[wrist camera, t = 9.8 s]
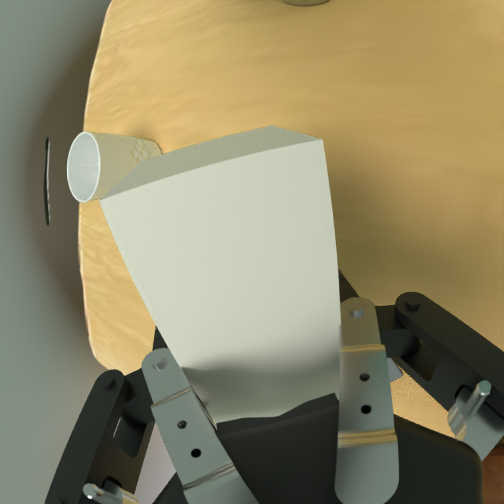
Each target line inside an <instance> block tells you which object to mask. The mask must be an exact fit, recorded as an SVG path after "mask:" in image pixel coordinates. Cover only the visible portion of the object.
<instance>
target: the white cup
mask: <svg viewBox="0 0 504 504" xmlns="http://www.w3.org/2000/svg"><path fill="white" fill-rule="evenodd" d="M159 155H162V153H161V150H160V148H159V147H158V145H157V144H156V143H155V142H154V141H151V140H148V139H142V138H136V137H132V136H124V135H118V134H108V133H96V132H82V133H80V134H79V135H78V136H77V137H76V138H75V140H74V142H73V143H72V146H71V148H70V152H69V156H68V163H67V177H68V183H69V187H70V190H71V192H72V194H73V196H74V197H75V199H77V200H78V201H79V202H82V203H84V202H89V201H94V200H99V199H101V198H102V197H104V196H105V195H106V194H107V193H108V192H109V191H110V190H111V189H112V188H113V187H114V186H115V185H116V184H117V183H118V182H119V181H120V180H121V179H122V178H124V177H125V176H126V175H127V174H128V173H129V172H130V171H131V170H132V169H133V168H135V167H136V166H137V165H138V164H139V163H140V162H141V161H144V160H147V159H150V158H153V157H156V156H159Z"/></svg>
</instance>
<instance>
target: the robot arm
mask: <svg viewBox="0 0 504 504" xmlns="http://www.w3.org/2000/svg"><path fill="white" fill-rule="evenodd" d="M281 1H283V2H286V3H289V4H293V5H314V4H319V3H323V2H326V1H328V0H281ZM338 278H339V295H340V316H341V325H339V400H338V399H337V397H336V394H335V392H334V393H331V394H328V395H325V396H322V397H319V398H316V399H313V400H309V401H306V402H304V403H302V404H301V405H299V406H297V407H295V408H293V409H291V410H289V411H287V412H286V413H284V414H282V415H279V416H276V417H244V418H239V419H235V420H230V421H224V422H219V423H216V424H215V422H214V421H213V419H212V417H211V415H210V414H209V412H208V410H207V408H206V407H205V405H204V404H203V402H202V401H201V400H200V398H199V397H198V395H197V394H196V392H195V391H194V389H193V387H192V386H191V384H190V382H189V381H188V379H187V377H186V375H185V373H184V371H183V370H182V368H181V367H180V366H179V365H178V363H177V361H176V360H175V358H174V356H173V355H172V353H171V351H170V349H169V348H168V346H167V344H166V342H165V341H164V339H163V337H162V335H161V333H160V332H159V330H158V328H157V326H156V329H155V335H154V342H153V350H152V352H150V353H149V354H148V355H146V357H145V358H144V359H143V362H142V368H140V369H139V370H137V371H134V372H132V373H130V374H128V375H126V376H124V375H123V373H122V372H121V371H119V370H115V369H113V370H108V371H106V372H104V373H102V374H101V375H100V376H99V377H98V378H97V380H96V381H95V384H94V386H93V388H92V390H91V392H90V394H89V396H88V398H87V400H86V402H85V405H84V407H83V409H82V411H81V413H80V415H79V418H78V420H77V422H76V424H75V427H74V429H73V431H72V433H71V436H70V438H69V441H68V443H67V445H66V448H65V450H64V453H63V455H62V458H61V460H60V463H59V466H58V467H57V470H56V473H55V476H54V478H53V481H52V483H51V486H50V489H49V492H48V494H47V498H46V500H45V504H139V502H138V500H137V499H136V497H135V496H134V493H135V490H136V486H137V482H138V479H139V475H140V472H141V468H142V465H143V461H144V457H145V454H146V451H147V447H148V444H149V441H150V437H151V434H152V431H153V427H154V424H155V421H156V424H157V426H158V429H159V431H160V434H161V436H162V439H163V441H164V444H165V446H166V449H167V451H168V453H169V456H170V458H171V460H172V463H173V465H174V467H175V469H176V473H175V474H174V475H173V477H172V478H171V480H170V481H169V482H168V484H167V485H166V486H165V488H164V489H163V491H162V492H161V493H160V494H159V496H158V497H157V498H156V500H155V501H154V502H153V504H484V501H483V473H484V471H483V464H482V461H483V459H484V458H485V457H486V456H487V455H488V454H489V452H490V451H491V450H492V449H493V448H494V446H495V445H496V444H497V443H498V441H499V440H500V439H501V438H502V437H503V436H504V352H503V351H502V350H500V349H499V348H498V347H496V346H495V345H494V344H492V343H491V342H490V341H488V340H487V339H486V338H484V337H483V336H482V335H480V334H479V333H477V332H476V331H475V330H473V329H472V328H471V327H469V326H468V325H466V324H465V323H464V322H462V321H461V320H459V319H458V318H456V317H455V316H454V315H452V314H451V313H449V312H448V311H446V310H445V309H443V308H442V307H441V306H439V305H438V304H436V303H435V302H433V301H432V300H430V299H429V298H427V297H426V296H424V295H423V294H420V293H417V292H407V293H403V294H401V295H400V296H399V297H398V298H397V299H396V303H395V305H388V306H374V304H373V303H372V302H371V301H370V300H368V299H365V298H361V297H359V296H358V294H357V293H356V292H355V290H354V289H353V288H352V286H351V285H350V284H349V282H348V281H347V280H346V279H345V277H344V276H343V274H341V272H340V270H339V269H338ZM387 358H391V359H392V360H393V361H394V362H395V363H396V364H397V365H398V366H400V367H401V368H402V369H403V370H404V371H405V372H406V373H407V374H408V375H409V376H410V377H411V378H413V379H414V380H415V381H416V382H417V383H418V384H419V385H420V386H421V387H422V388H423V389H424V390H425V391H427V392H428V393H429V394H430V395H431V396H432V397H433V398H434V399H435V400H436V401H437V402H438V403H439V404H440V405H442V406H443V407H444V408H445V409H446V410H447V411H448V424H449V426H450V428H451V431H452V432H453V433H454V434H455V437H456V439H454V438H452V437H449V436H446V435H444V434H441V433H439V432H436V431H433V430H431V429H428V428H426V427H423V426H421V425H419V424H416V423H414V422H411V421H409V420H407V419H404V418H402V417H400V416H397V415H395V414H393V406H392V396H391V387H390V379H389V371H388V364H387ZM119 419H121V420H120V422H119V425H118V428H117V431H116V433H115V436H114V432H115V429H116V426H117V424H118V421H119ZM216 425H217V426H216ZM113 436H114V438H113Z"/></svg>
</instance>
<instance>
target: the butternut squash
mask: <svg viewBox="0 0 504 504" xmlns="http://www.w3.org/2000/svg"><path fill="white" fill-rule="evenodd" d="M482 464H483V471H484V473H483V501H484V504H504V447H496V448H493V449H492V450H491V451H490V452H489V454H488V455H487V456H486V457H485V458H484V459H483V461H482Z"/></svg>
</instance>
